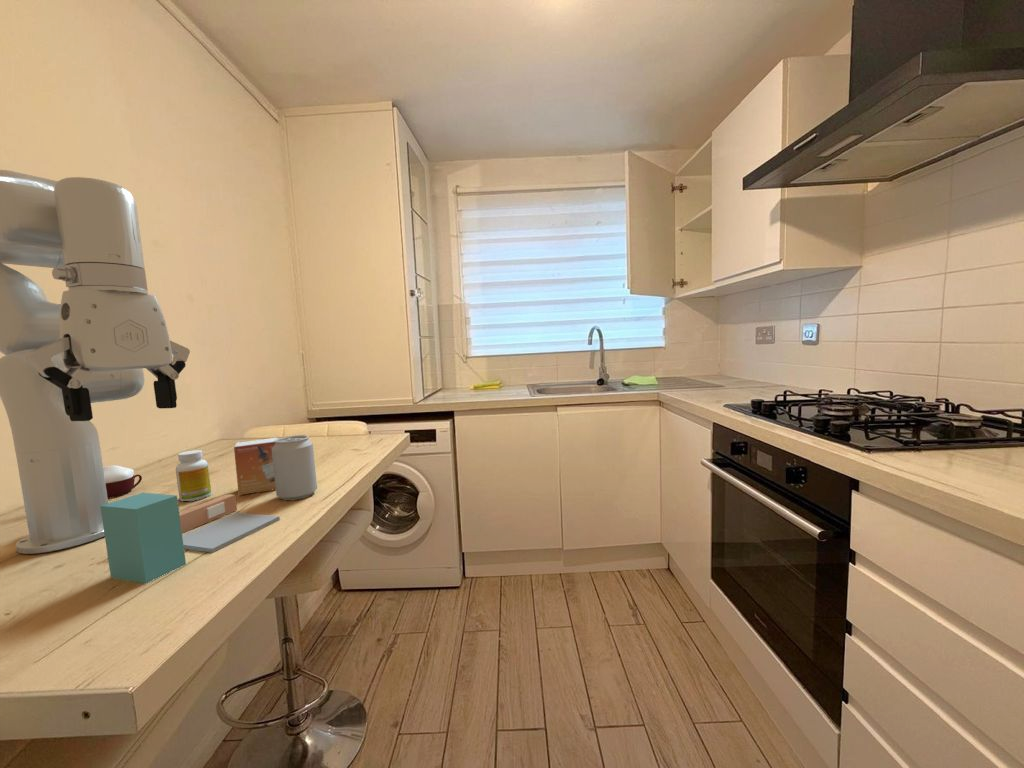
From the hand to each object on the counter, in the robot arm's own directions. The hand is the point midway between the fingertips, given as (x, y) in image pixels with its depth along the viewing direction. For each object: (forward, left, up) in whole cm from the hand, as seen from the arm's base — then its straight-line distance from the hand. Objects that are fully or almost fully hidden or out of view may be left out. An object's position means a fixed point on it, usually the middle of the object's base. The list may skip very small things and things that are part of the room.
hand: (127, 413), depth 57 cm
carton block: (0, 0, -22) cm, 22 cm away
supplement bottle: (-25, +24, -22) cm, 41 cm away
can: (-3, +29, -22) cm, 37 cm away
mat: (-1, +12, -22) cm, 25 cm away
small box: (-15, +31, -22) cm, 41 cm away
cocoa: (-47, +22, -22) cm, 56 cm away
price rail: (-10, +12, -22) cm, 27 cm away
